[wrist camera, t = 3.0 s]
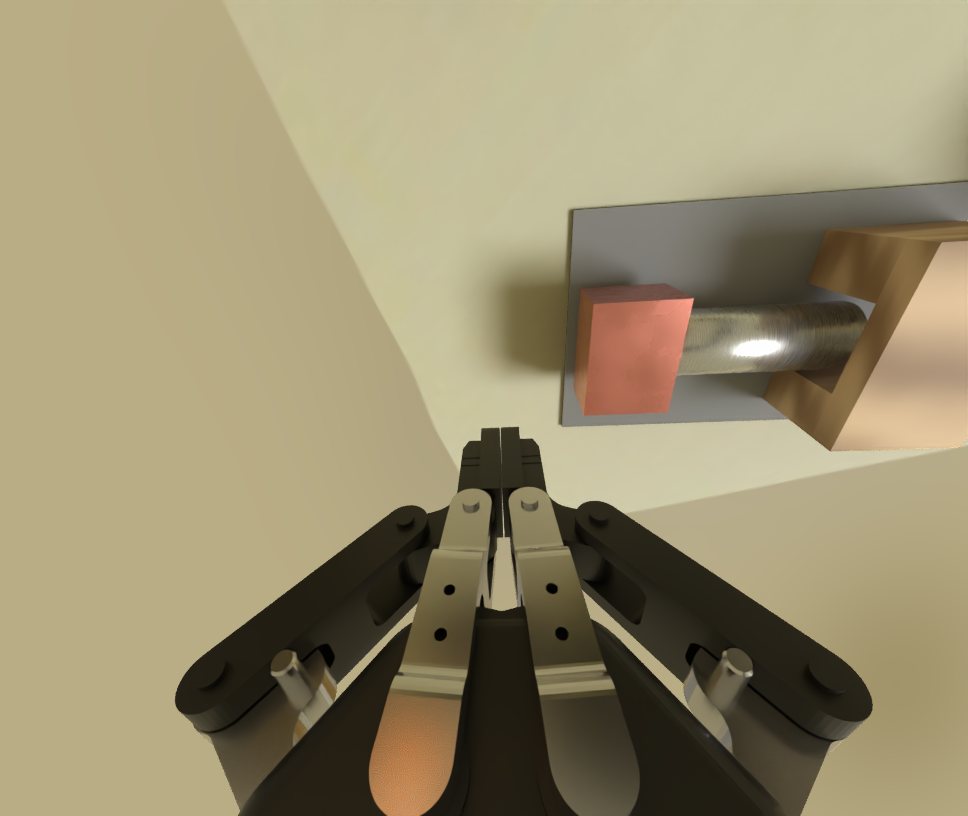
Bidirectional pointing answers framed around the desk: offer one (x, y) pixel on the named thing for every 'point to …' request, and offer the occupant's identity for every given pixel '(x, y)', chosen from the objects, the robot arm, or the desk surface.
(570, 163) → the desk surface
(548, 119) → the desk surface
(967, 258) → the wooden block
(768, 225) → the mat
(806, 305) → the pin
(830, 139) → the desk surface
